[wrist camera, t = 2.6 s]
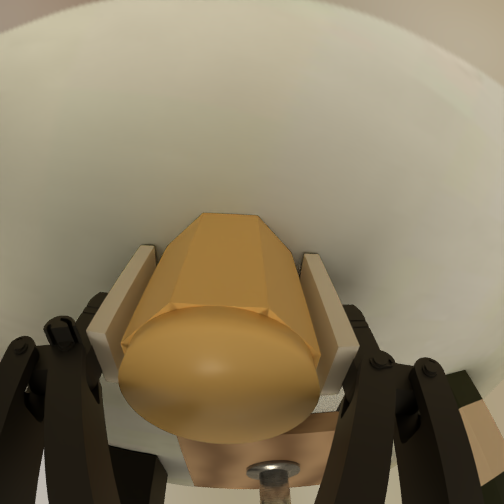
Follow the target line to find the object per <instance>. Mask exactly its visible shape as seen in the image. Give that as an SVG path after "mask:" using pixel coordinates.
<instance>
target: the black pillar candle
mask: <svg viewBox="0 0 504 504" xmlns="http://www.w3.org/2000/svg"><path fill="white" fill-rule="evenodd" d="M109 452H110V458H111V463H112V468H113V473H114V478H115V483H116V487H117V491H118V495H119V499H120V503H121V504H164V499H165V491H166V483H167V476H168V474H167V473H166V471H165V469H164V468H163V466H162V464H161V463H160V461H159V459H158V458H157V456H153V455H147V454H142V453H137V452H132V451H127V450H123V449H119V448H114V447H110V446H109Z"/></svg>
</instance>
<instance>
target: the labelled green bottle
mask: <svg viewBox="0 0 504 504" xmlns="http://www.w3.org/2000/svg"><path fill="white" fill-rule="evenodd" d="M446 377H447V380H448V382H449V385H450V387H451V390H452V392H453V395H454V398H455V400H456V403H457V406H458V409H459V411H460V414H461V417H462V420H463V423H464V426H465V429H466V432H467V435H468V439H469V442H470V445H471V449H472V452H473V456H474V460H475V463H476V467H477V471H478V476H479V480H480V484H481V489H482V494H483V499H484V504H504V439H503V437H502V435H501V433H500V431H499V429H498V427H497V425H496V423H495V421H494V419H493V417H492V415H491V414H490V412H489V410H488V408H487V406H486V405H485V403H484V401H483V399H482V397H481V395H480V394H479V392H478V390H477V389H476V387H475V385H474V384H473V382H472V380H471V379H470V377H469V375H468V374H467V372H466V370H463V371H460V372H456V373H452V374H448V375H446Z"/></svg>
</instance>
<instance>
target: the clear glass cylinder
mask: <svg viewBox="0 0 504 504" xmlns="http://www.w3.org/2000/svg"><path fill="white" fill-rule="evenodd" d="M299 472H300V465H299V464H298V463H297V462H294V461H288V460H272V461H264V462H259V463H255V464H252V465H250V466H248V467H247V469H246V475H247V476H248V477H249V478H252V479H256V480H259V487H260V504H291V500H290V489H289V479H288V478H289V477H292V476H295V475H297V474H298V473H299Z"/></svg>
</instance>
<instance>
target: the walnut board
mask: <svg viewBox="0 0 504 504" xmlns="http://www.w3.org/2000/svg"><path fill="white" fill-rule="evenodd" d="M338 416H339V412H338V411H337V412H326V413H314V414H310V415H309V417H307V418H306V419H305V420H304V421H303V422H302V423H300V424H299V425H298V426H296V427H295V428H293V429H291V430H289V431H287V432H285V433H283V434H281V435H278V436H275V437H272V438H269V439H265V440H262V441H257V442H251V443H242V444H215V443H206V442H199V441H195V440H190V439H186V438H183V437H180V436H177V438H178V441H179V444H180V447H181V450H182V453H183V456H184V459H185V462H186V465H187V467H188V470H189V473H190V475H191V478H192V481H193V483H194V486H198V487H210V488H227V489H260V487H259V480H256V479H252V478H249V477H248V476H247V475H246V469H247V467H248V466H250V465H252V464H255V463H259V462H264V461H272V460H288V461H294V462H297V463H298V464H299V465H300V472H299V473H298V474H297V475H295V476H292V477H289V478H288V479H289V488H290V487H301V486H311V485H319V484H321V481H322V478H323V474H324V471H325V468H326V464H327V460H328V457H329V453H330V449H331V445H332V441H333V437H334V433H335V429H336V425H337V420H338Z"/></svg>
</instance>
